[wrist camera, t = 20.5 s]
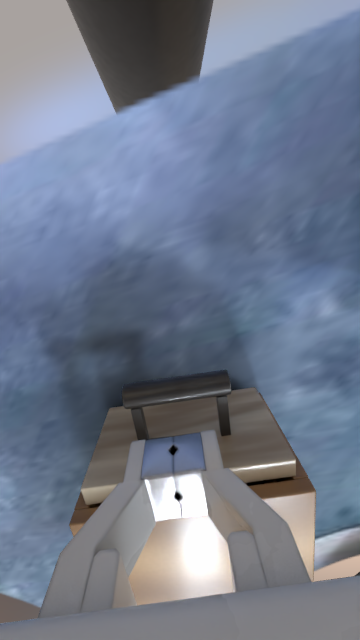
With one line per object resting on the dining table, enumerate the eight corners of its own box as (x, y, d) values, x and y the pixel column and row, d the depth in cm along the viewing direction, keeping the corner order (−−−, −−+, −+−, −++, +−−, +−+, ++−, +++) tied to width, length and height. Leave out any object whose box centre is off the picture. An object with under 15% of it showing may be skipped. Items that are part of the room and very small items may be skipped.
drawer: (96, 359, 19) (56, 423, 12) (252, 336, 19) (296, 389, 12) (139, 520, 24) (128, 626, 17) (262, 503, 24) (296, 604, 17)
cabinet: (107, 414, 21) (68, 525, 13) (260, 392, 21) (316, 490, 13) (139, 528, 25) (124, 667, 17) (266, 511, 25) (312, 642, 17)
